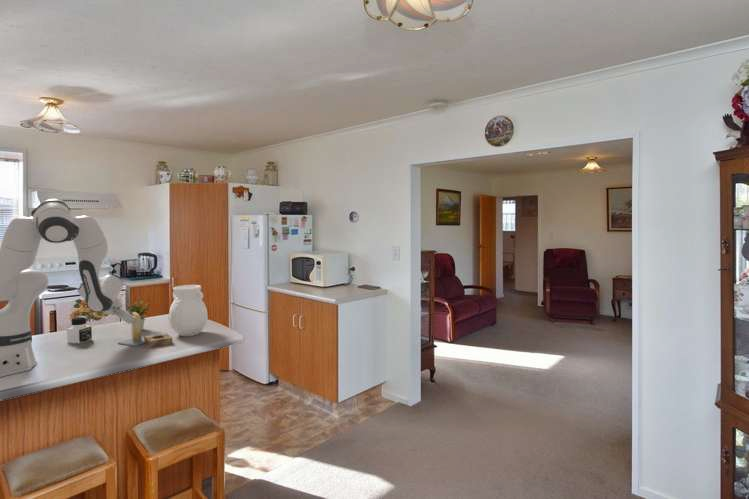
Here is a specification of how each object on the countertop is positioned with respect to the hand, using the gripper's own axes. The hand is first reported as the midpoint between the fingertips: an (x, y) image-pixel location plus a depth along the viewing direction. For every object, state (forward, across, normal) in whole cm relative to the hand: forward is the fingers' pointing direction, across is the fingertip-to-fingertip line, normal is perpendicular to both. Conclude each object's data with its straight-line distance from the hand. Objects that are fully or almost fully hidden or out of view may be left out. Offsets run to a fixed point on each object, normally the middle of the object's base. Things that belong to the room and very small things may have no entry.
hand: (135, 323), depth 207 cm
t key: (+6, 0, +6) cm, 9 cm away
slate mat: (+7, 0, +7) cm, 9 cm away
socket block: (+12, -9, +1) cm, 15 cm away
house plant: (+10, +23, +4) cm, 26 cm away
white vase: (+24, -1, -10) cm, 26 cm away
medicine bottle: (-8, +18, +22) cm, 29 cm away
